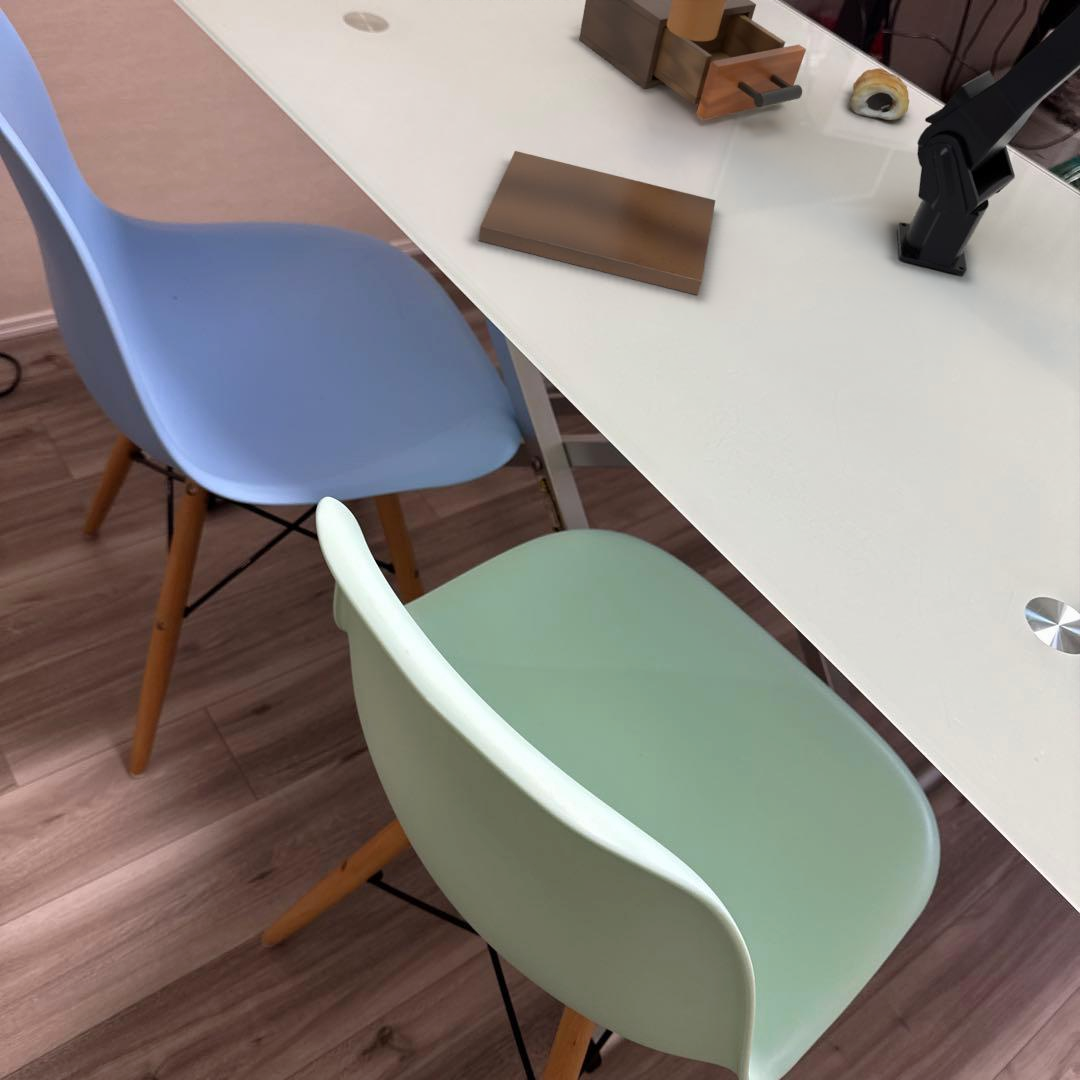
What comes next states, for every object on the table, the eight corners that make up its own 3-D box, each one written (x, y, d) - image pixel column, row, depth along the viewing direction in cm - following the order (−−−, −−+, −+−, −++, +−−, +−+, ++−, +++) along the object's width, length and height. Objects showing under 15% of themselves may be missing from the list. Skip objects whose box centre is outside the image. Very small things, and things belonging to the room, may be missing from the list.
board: (697, 295, 87) (702, 281, 85) (478, 240, 87) (480, 225, 86) (711, 213, 96) (715, 199, 95) (512, 164, 96) (514, 150, 95)
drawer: (814, 118, 110) (833, 66, 106) (728, 139, 104) (745, 85, 100) (722, 55, 117) (737, 4, 113) (637, 71, 111) (649, 18, 107)
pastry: (850, 79, 120) (863, 48, 118) (904, 94, 120) (917, 63, 117) (846, 112, 114) (859, 80, 111) (902, 128, 114) (917, 96, 111)
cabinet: (736, 70, 117) (756, 4, 112) (644, 89, 111) (660, 19, 105) (670, 24, 123) (685, -41, 117) (578, 39, 116) (590, -29, 111)
